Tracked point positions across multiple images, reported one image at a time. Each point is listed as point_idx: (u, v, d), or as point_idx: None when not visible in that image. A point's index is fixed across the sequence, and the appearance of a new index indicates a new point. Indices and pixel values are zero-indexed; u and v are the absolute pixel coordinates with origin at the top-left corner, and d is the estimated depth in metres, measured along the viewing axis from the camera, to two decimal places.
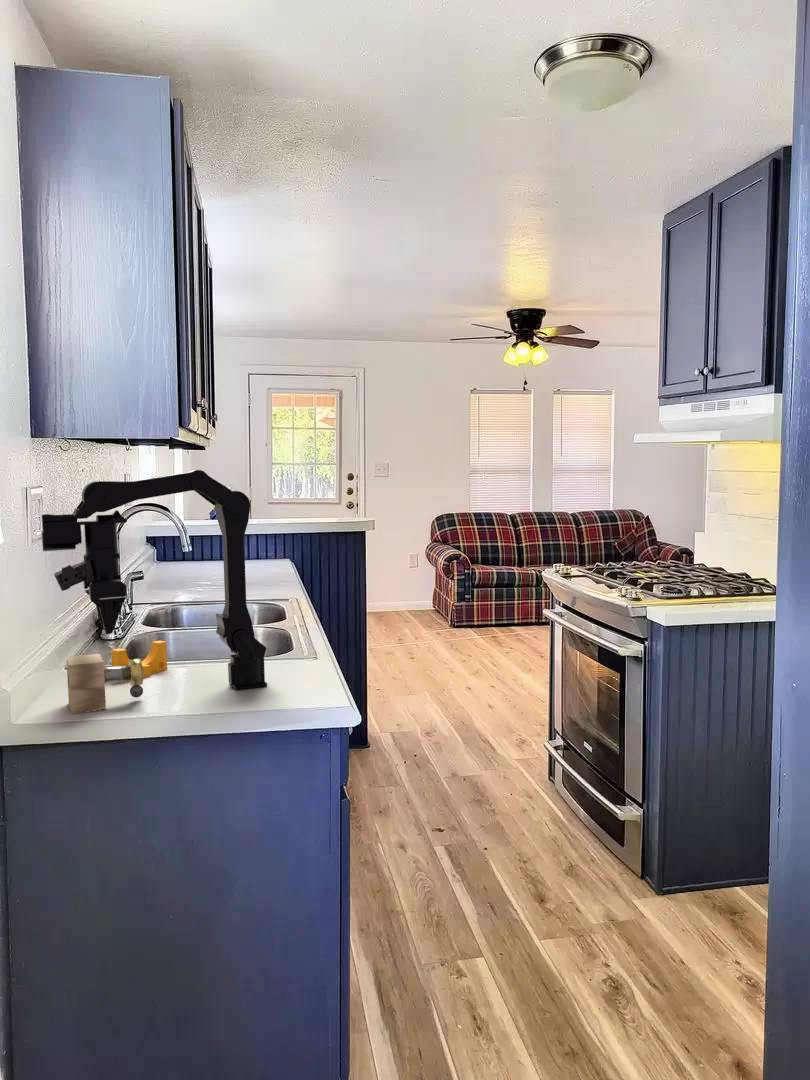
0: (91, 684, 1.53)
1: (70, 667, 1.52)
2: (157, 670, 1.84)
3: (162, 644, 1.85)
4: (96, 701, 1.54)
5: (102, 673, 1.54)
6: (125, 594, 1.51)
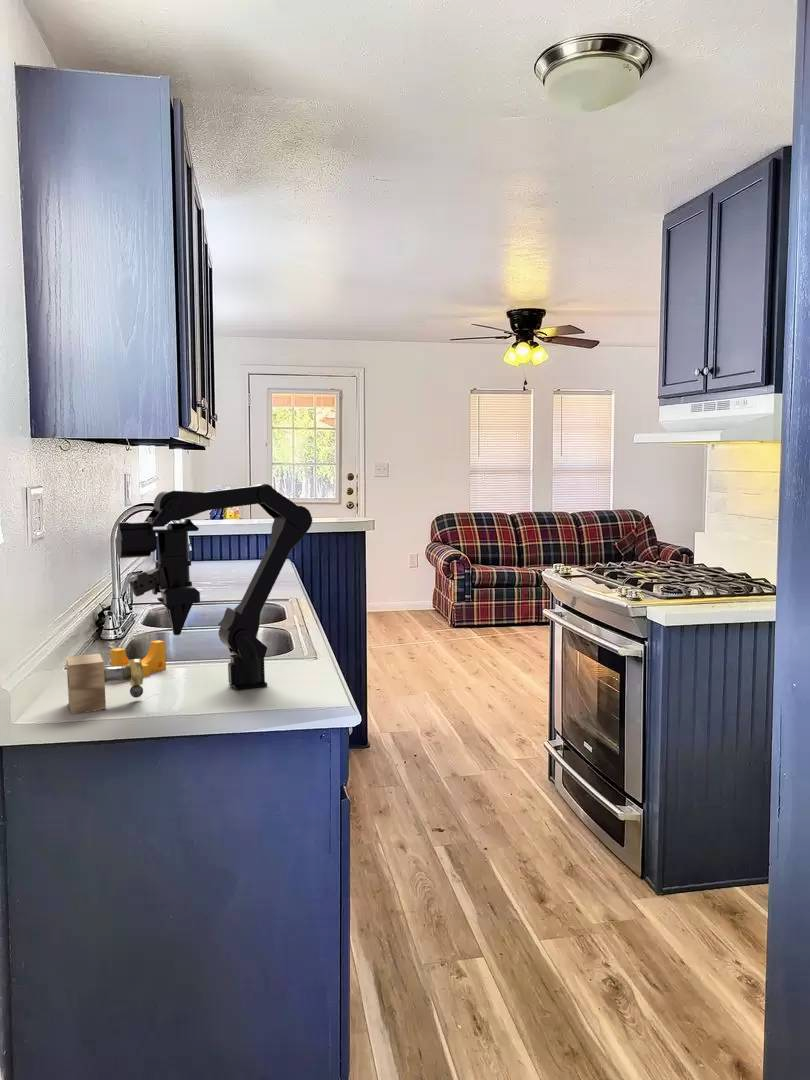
0: (91, 684, 1.53)
1: (70, 667, 1.52)
2: (156, 670, 1.84)
3: (161, 644, 1.85)
4: (96, 701, 1.54)
5: (102, 673, 1.54)
6: (198, 600, 1.56)
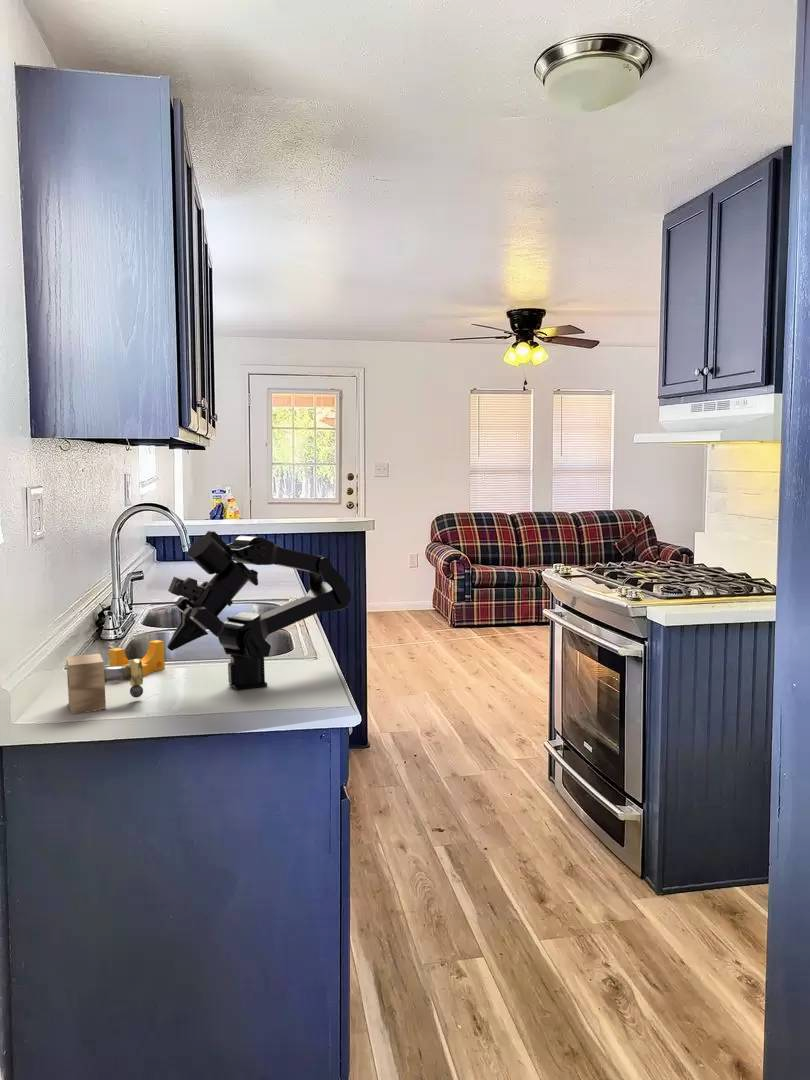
0: (91, 684, 1.53)
1: (70, 667, 1.52)
2: (155, 669, 1.85)
3: (160, 643, 1.85)
4: (96, 701, 1.54)
5: (102, 673, 1.54)
6: (217, 635, 1.57)
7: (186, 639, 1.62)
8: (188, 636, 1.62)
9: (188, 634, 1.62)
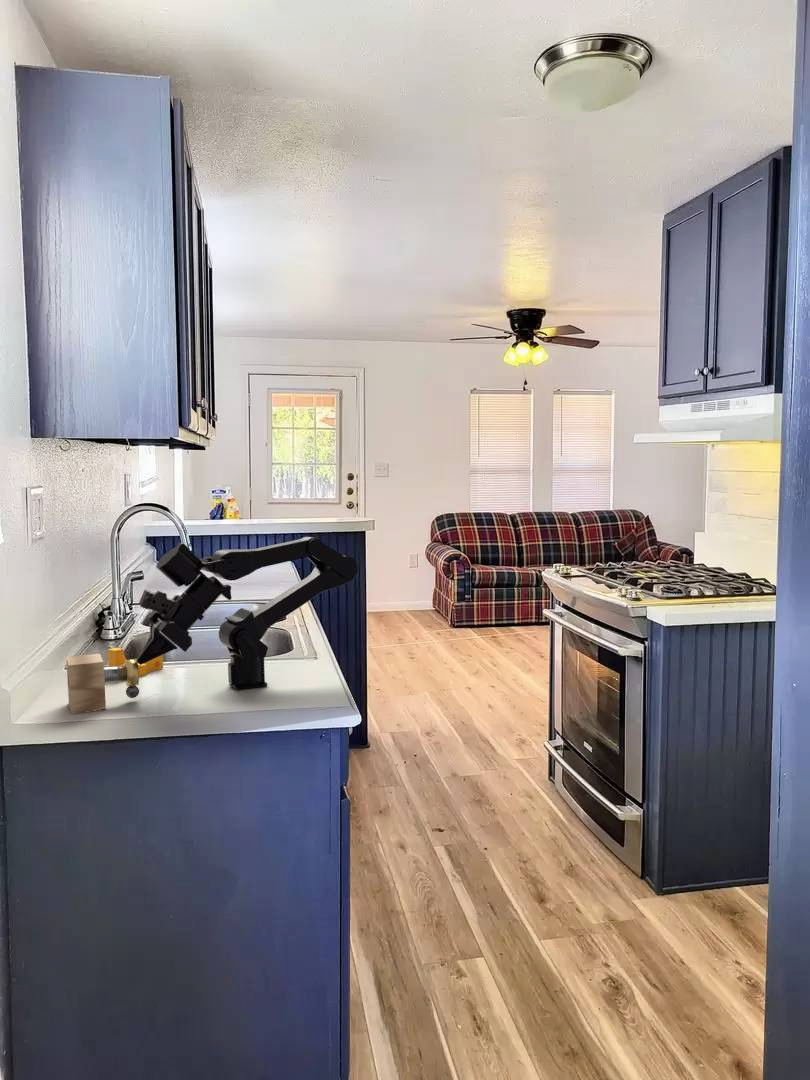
0: (91, 684, 1.53)
1: (70, 667, 1.52)
2: (153, 669, 1.85)
3: None
4: (96, 701, 1.54)
5: (102, 673, 1.54)
6: (185, 650, 1.55)
7: (155, 653, 1.60)
8: (157, 650, 1.60)
9: (157, 648, 1.60)
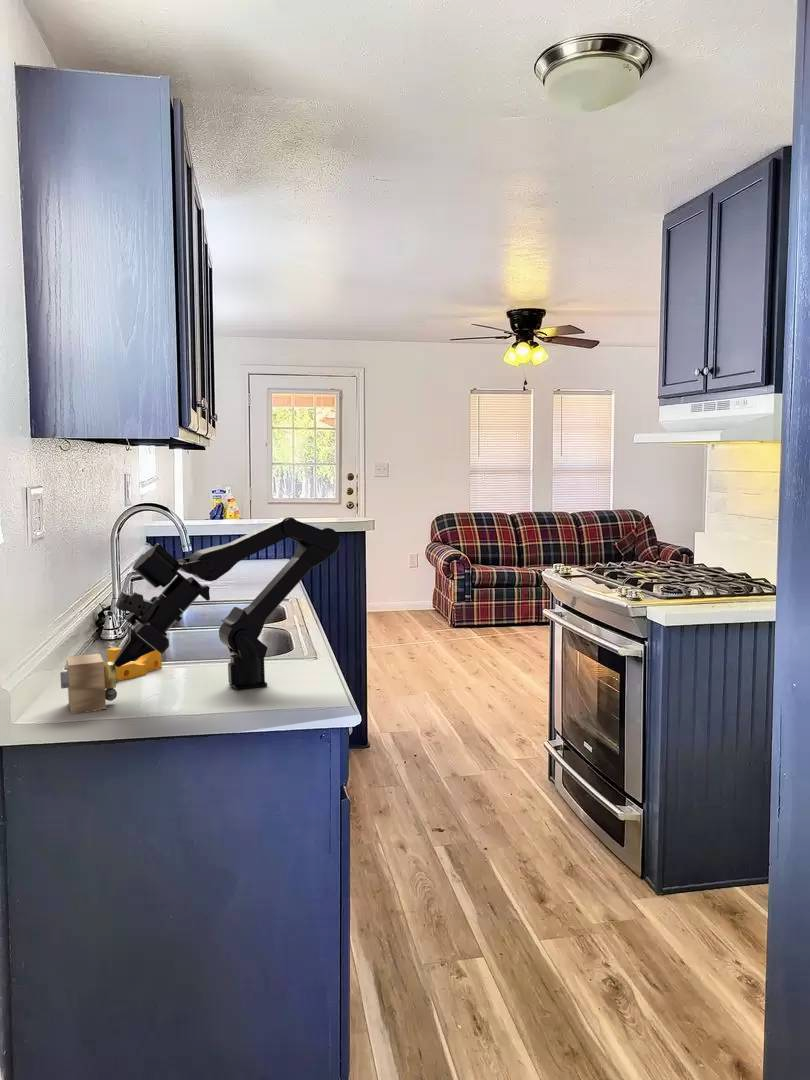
0: (91, 684, 1.53)
1: (70, 667, 1.52)
2: (152, 669, 1.85)
3: None
4: (96, 701, 1.54)
5: (102, 673, 1.54)
6: (162, 652, 1.53)
7: (133, 655, 1.59)
8: (135, 652, 1.59)
9: (135, 650, 1.59)
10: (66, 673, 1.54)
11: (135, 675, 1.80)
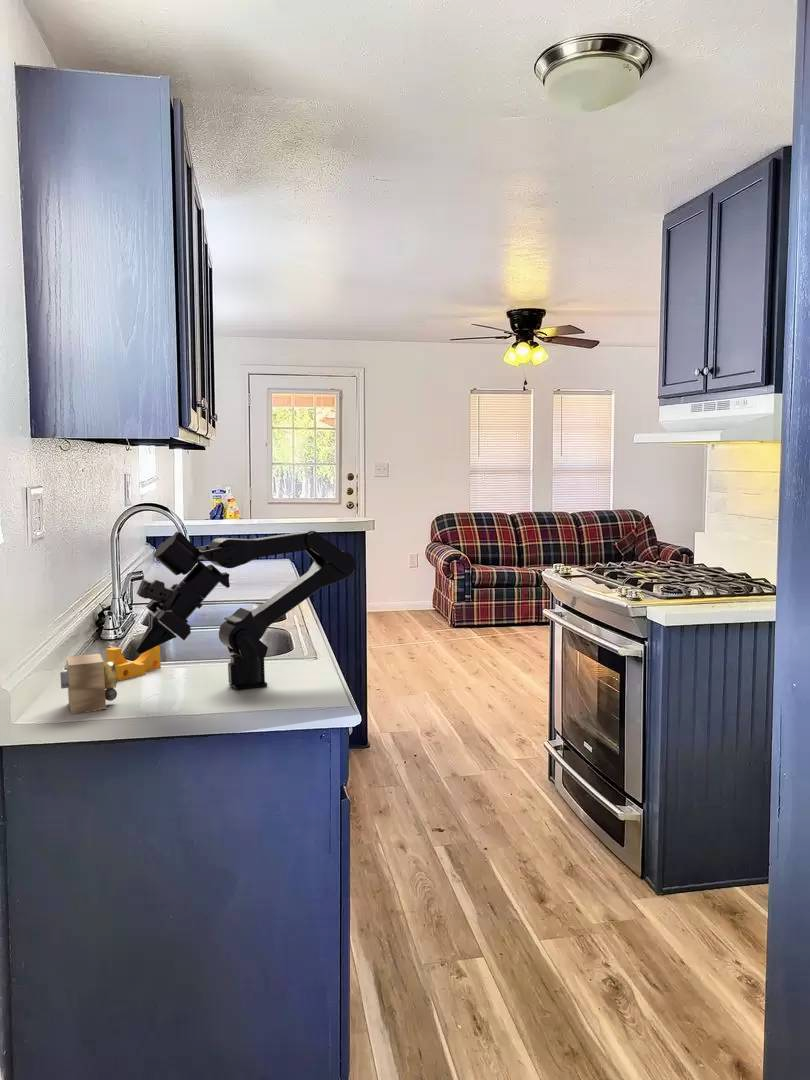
0: (91, 684, 1.53)
1: (70, 667, 1.52)
2: (151, 668, 1.86)
3: None
4: (96, 701, 1.54)
5: (102, 673, 1.54)
6: (184, 638, 1.55)
7: (155, 642, 1.60)
8: (157, 639, 1.60)
9: (157, 637, 1.60)
10: (66, 673, 1.54)
11: (134, 675, 1.80)
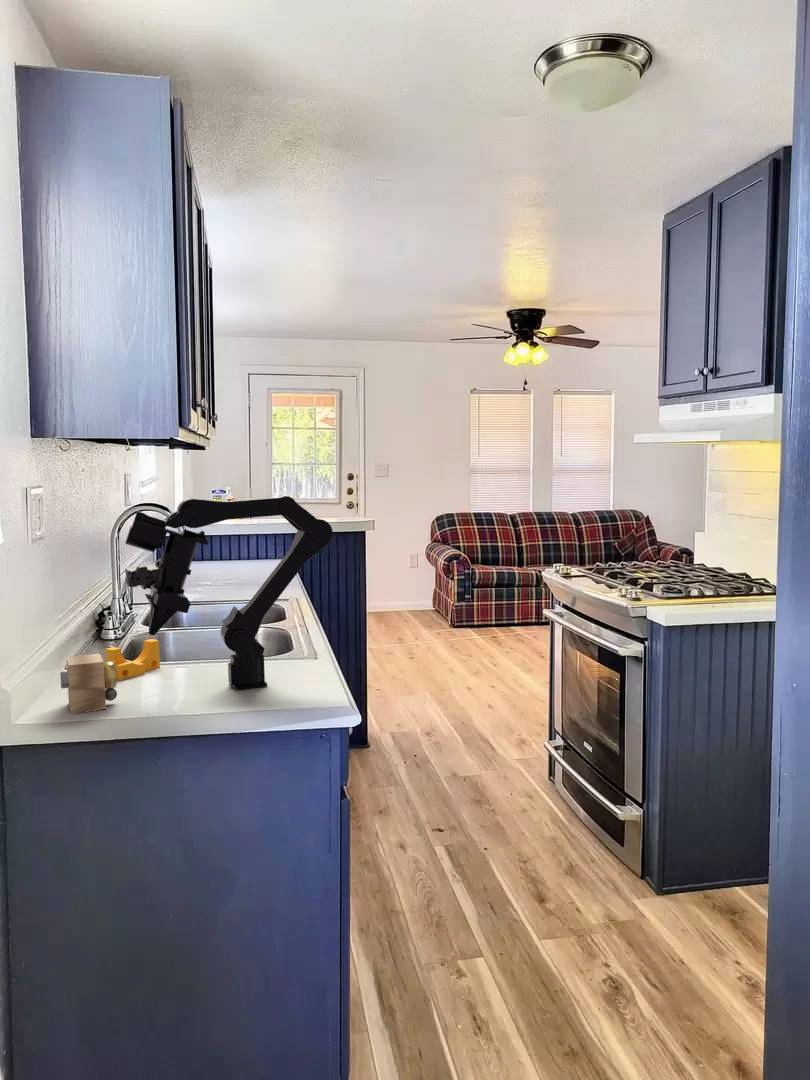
0: (91, 684, 1.53)
1: (70, 667, 1.52)
2: (150, 668, 1.86)
3: (155, 643, 1.87)
4: (96, 701, 1.54)
5: (102, 673, 1.54)
6: (186, 611, 1.58)
7: (162, 620, 1.64)
8: (163, 617, 1.64)
9: (162, 615, 1.64)
10: (66, 673, 1.54)
11: (134, 675, 1.80)
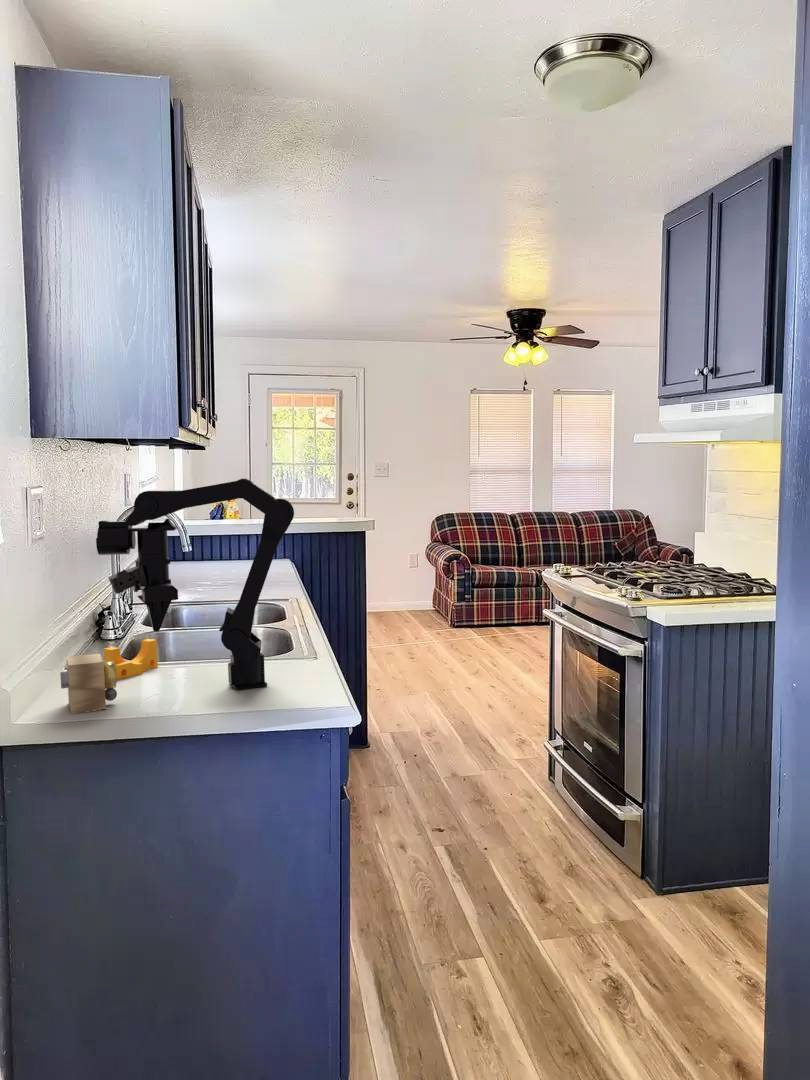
0: (91, 684, 1.53)
1: (70, 667, 1.52)
2: (148, 668, 1.86)
3: (153, 642, 1.87)
4: (96, 701, 1.54)
5: (102, 673, 1.54)
6: (176, 598, 1.60)
7: (161, 614, 1.66)
8: (160, 611, 1.66)
9: (159, 610, 1.66)
10: (66, 673, 1.54)
11: (132, 674, 1.81)
